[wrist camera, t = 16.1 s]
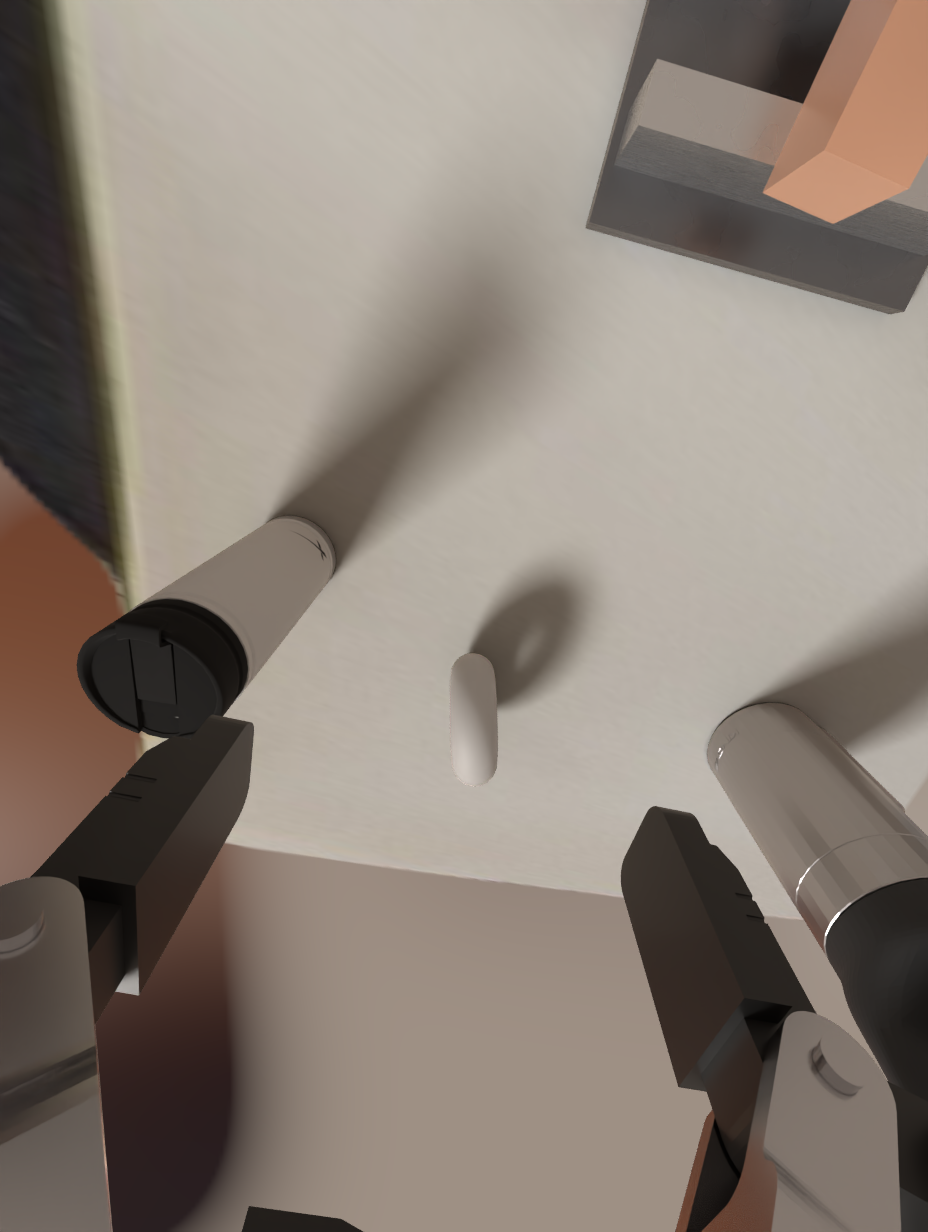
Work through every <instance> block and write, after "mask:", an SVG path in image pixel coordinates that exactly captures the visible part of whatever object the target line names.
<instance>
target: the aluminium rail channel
mask: <svg viewBox="0 0 928 1232" xmlns="http://www.w3.org/2000/svg"><path fill="white" fill-rule="evenodd" d="M850 1H851V0H647V2H646V6H645V9H644V13H643V17H642V21H641V24H640V28H639V32H638V35H637V39H636V43H635V46H634V50H633V54H632V58H631V61H630V65H629V69H628V72H627V76H626V80H625V83H624V87H623V91H622V94H621V98H620V102H619V106H618V109H617V113H616V117H615V120H614V124H613V128H612V131H611V135H610V139H609V143H608V146H607V150H606V154H605V157H604V161H603V165H602V168H601V172H600V176H599V179H598V183H597V187H596V191H595V194H594V198H593V202H592V205H591V209H590V213H589V216H588V220H587V224H586V228H587V229H591V230H594V231H598V232H601V233H605V234H608V235H612V236H616V237H619V238H623V239H626V240H630V241H633V242H637V243H640V244H644V245H647V246H651V247H654V248H658V249H661V250H665V251H669V252H672V253H676V254H679V255H683V256H686V257H690V258H693V259H697V260H700V261H704V262H707V263H711V264H714V265H718V266H721V267H725V268H729V269H732V270H736V271H739V272H743V273H746V274H750V275H753V276H757V277H760V278H764V279H767V280H771V281H774V282H778V283H782V284H785V285H789V286H792V287H796V288H799V289H803V290H806V291H810V292H813V293H817V294H820V295H824V296H827V297H831V298H834V299H838V300H842V301H845V302H849V303H852V304H856V305H859V306H863V307H866V308H870V309H873V310H877V311H880V312H884V313H887V314H894V313H899V312H904V311H905V309H906V307H907V305H908V303H909V301H910V299H911V297H912V295H913V293H914V291H915V289H916V287H917V285H918V283H919V281H920V279H921V277H922V275H923V273H924V271H925V269H926V267H927V265H928V155H927V157H926V159H925V161H924V162H923V164H922V166H921V168H920V170H919V171H918V173H917V175H916V177H915V179H914V181H913V182H912V184H911V186H910V188H909V189H907V190H905V191H903V192H901V193H899V194H897V195H894V196H892V197H890V198H888V199H886V200H884V201H881V202H879V203H877V204H875V205H873V206H871V207H869V208H866V209H864V210H862V211H860V212H858V213H856V214H854V215H851V216H849V217H847V218H845V219H843V220H841V221H838V222H836V223H834V224H832V223H830V222H827V221H825V220H823V219H820V218H818V217H816V216H814V215H811V214H809V213H807V212H805V211H802V210H800V209H798V208H796V207H793V206H791V205H789V204H786V203H784V202H782V201H780V200H777V199H775V198H773V197H771V196H768V195H766V194H764V193H762V192H763V190H764V188H765V186H766V184H767V182H768V179H769V177H770V175H771V173H772V171H773V169H774V166H775V164H776V162H777V160H778V158H779V156H780V153H781V151H782V149H783V147H784V145H785V142H786V140H787V138H788V136H789V134H790V132H791V129H792V127H793V125H794V123H795V121H796V119H797V116H798V114H799V112H800V110H801V108H802V106H803V103H804V101H805V99H806V97H807V95H808V93H809V90H810V88H811V86H812V84H813V82H814V79H815V77H816V75H817V73H818V71H819V69H820V66H821V64H822V62H823V60H824V58H825V56H826V53H827V51H828V49H829V47H830V45H831V43H832V40H833V38H834V36H835V34H836V32H837V29H838V27H839V25H840V23H841V21H842V19H843V16H844V14H845V12H846V10H847V8H848V6H849V3H850Z"/></svg>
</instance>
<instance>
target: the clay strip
mask: <svg viewBox="0 0 928 1232" xmlns="http://www.w3.org/2000/svg"><path fill="white" fill-rule="evenodd" d="M927 155H928V0H851V1H850V3H849V6H848V8H847V10H846V12H845V14H844V16H843V19H842V21H841V23H840V25H839V27H838V29H837V32H836V34H835V36H834V38H833V40H832V43H831V45H830V47H829V49H828V51H827V53H826V56H825V58H824V60H823V62H822V64H821V66H820V69H819V71H818V73H817V75H816V77H815V79H814V82H813V84H812V86H811V88H810V90H809V93H808V95H807V97H806V99H805V101H804V103H803V106H802V108H801V110H800V112H799V114H798V116H797V119H796V121H795V123H794V125H793V127H792V129H791V132H790V134H789V136H788V138H787V140H786V142H785V145H784V147H783V149H782V151H781V153H780V156H779V158H778V160H777V162H776V164H775V166H774V169H773V171H772V173H771V175H770V177H769V179H768V182H767V184H766V186H765V188H764V190H763V192H762V193H764V194H766V195H768V196H771V197H773V198H775V199H777V200H780V201H782V202H784V203H786V204H789V205H791V206H793V207H796V208H798V209H800V210H802V211H805V212H807V213H809V214H811V215H814V216H816V217H818V218H820V219H823V220H825V221H827V222H830V223H832V224H834V223H836V222H838V221H841V220H843V219H845V218H847V217H849V216H851V215H854V214H856V213H858V212H860V211H862V210H864V209H866V208H869V207H871V206H873V205H875V204H877V203H879V202H881V201H884V200H886V199H888V198H890V197H892V196H894V195H897V194H899V193H901V192H903V191H905V190H907V189H909V188H910V186H911V184H912V182H913V181H914V179H915V177H916V175H917V173H918V171H919V170H920V168H921V166H922V164H923V162H924V161H925V159H926V157H927Z"/></svg>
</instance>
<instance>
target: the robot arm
mask: <svg viewBox="0 0 928 1232" xmlns="http://www.w3.org/2000/svg"><path fill="white" fill-rule="evenodd" d="M253 736H254V726H253V723H251V722H247V721H242V720H237V719H232V718H227V717H222V716H217V715H211V716H209V717H208V718H207V719H206V720H205V722H204V723H203V724H202V725H201V727H200V728H199V729H198V730H197V731H196V733H195V734H194V735H193V736H192V738H191V739H188V738H183V737H178V736H173V737H171V738H169V739H167V740H166V741H164V742H162V743H160V744H159V745H157V746H155V747H153V748H151V749H150V750H148V751H146V752H145V753H144V754H143V755H142V757H141V758H140V759H139V760H138V761H137V762H136V763H135V764H134V765H133V766H132V767H131V769H130V770H129V771H128V772H127V773H126V776H125V778H121V780H120V781H119V782H118V783H117V784H116V785H115V786H114V787H113V788H112V789H111V790H110V793H109V795H108V796H105V797H104V798H103V799H102V800H101V801H100V803H99V804H98V805H97V806H96V807H95V808H94V809H93V810H92V811H91V812H90V813H89V815H88V816H87V817H86V818H85V819H84V820H83V821H82V822H81V823H80V824H79V825H78V827H77V828H76V829H75V830H74V831H73V832H72V833H71V834H70V835H69V836H68V837H67V838H66V840H65V841H64V842H63V843H62V844H61V845H60V846H59V847H58V848H57V849H56V851H55V852H54V853H53V854H52V855H51V856H50V857H49V858H48V859H47V860H46V861H45V863H44V864H43V865H42V866H41V867H40V868H39V869H38V870H37V871H36V872H35V873H34V874H33V875H32V876H31V877H30V878H25V879H21V880H17V881H14V882H11V883H8V884H5V885H2V886H0V1232H112V1222H111V1210H110V1199H109V1187H108V1175H107V1163H106V1152H105V1139H104V1127H103V1115H102V1103H101V1090H100V1079H99V1067H98V1054H97V1042H96V1030H95V1024H96V1022H97V1021H98V1019H99V1017H100V1016H101V1014H102V1012H103V1011H104V1009H105V1008H106V1006H107V1004H108V1002H109V1001H110V999H111V997H112V996H113V994H114V993H115V991H116V992H122V993H128V994H134V995H140V992H141V991H142V989H143V987H144V986H145V984H146V982H147V980H148V978H149V977H150V975H151V973H152V971H153V969H154V968H155V966H156V964H157V962H158V961H159V959H160V957H161V955H162V954H163V952H164V950H165V948H166V946H167V945H168V943H169V941H170V939H171V937H172V935H173V934H174V932H175V930H176V928H177V927H178V925H179V923H180V921H181V919H182V918H183V916H184V914H185V912H186V911H187V909H188V907H189V905H190V903H191V901H192V900H193V898H194V896H195V894H196V893H197V891H198V889H199V887H200V885H201V884H202V881H203V880H204V878H205V876H206V875H207V873H208V871H209V869H210V867H211V866H212V864H213V862H214V860H215V859H216V857H217V855H218V853H219V851H220V850H221V848H222V846H223V844H224V842H225V841H226V839H227V837H228V835H229V834H230V832H231V830H232V828H233V826H234V825H235V823H236V821H237V819H238V817H239V815H240V813H241V811H242V809H243V806H244V803H245V800H246V797H247V793H248V789H249V783H250V772H251V760H252V748H253ZM707 757H708V763H709V765H710V768H711V770H712V771H713V773H714V775H715V776H716V778H717V780H718V781H719V783H720V785H721V786H722V788H723V789H724V791H725V793H726V794H727V796H728V798H729V799H730V801H731V803H732V804H733V806H734V808H735V809H736V811H737V813H738V814H739V816H740V817H741V819H742V821H743V822H744V824H745V825H746V827H747V829H748V830H749V832H750V834H751V835H752V837H753V838H754V840H755V842H756V843H757V845H758V847H759V848H760V850H761V851H762V853H763V855H764V856H765V858H766V859H767V861H768V863H769V864H770V866H771V868H772V869H773V871H774V872H775V874H776V876H777V877H778V879H779V881H780V882H781V884H782V885H783V887H784V889H785V890H786V892H787V894H788V895H789V897H790V898H791V900H792V902H793V903H794V905H795V906H796V908H797V910H798V911H799V913H800V914H801V916H802V918H803V919H804V921H805V922H806V924H807V926H808V927H809V929H810V930H811V932H812V934H813V935H814V937H815V939H816V940H817V942H818V944H819V945H820V947H821V948H822V950H823V952H824V953H825V955H826V956H827V958H828V960H829V962H830V964H831V965H832V967H833V968H834V970H835V972H836V973H837V975H838V977H839V979H840V980H841V983H842V986H843V990H844V994H845V998H846V1001H847V1004H848V1006H849V1009H850V1011H851V1013H852V1016H853V1018H854V1020H855V1022H856V1024H857V1026H858V1027H859V1029H860V1031H861V1033H862V1035H863V1036H864V1038H865V1040H866V1042H867V1044H868V1045H869V1047H870V1049H871V1051H872V1052H873V1054H874V1055H875V1058H876V1059H877V1061H878V1063H879V1065H880V1067H881V1069H882V1070H883V1072H884V1074H885V1076H886V1078H887V1079H888V1081H889V1082H888V1081H887V1080H886V1079H885V1077H884V1075H883V1073H882V1072H881V1070H880V1069H879V1067H878V1066H877V1064H876V1063H875V1061H874V1060H873V1059H872V1058H871V1056H870V1055H869V1054H868V1053H867V1051H866V1050H865V1049H864V1048H863V1047H862V1046H861V1045H860V1044H859V1043H858V1042H857V1041H856V1040H855V1039H854V1038H853V1037H852V1036H851V1035H849V1034H848V1033H847V1032H846V1031H845V1030H843V1029H842V1028H841V1027H839V1026H838V1025H836V1024H835V1023H833V1022H832V1021H830V1020H828V1019H826V1018H825V1017H823V1016H820V1015H818V1014H816V1012H815V1010H814V1009H813V1007H812V1005H811V1003H810V1001H809V999H808V998H807V996H806V994H805V992H804V990H803V988H802V986H801V985H800V983H799V981H798V979H797V977H796V975H795V973H794V972H793V970H792V968H791V966H790V964H789V962H788V961H787V959H786V957H785V955H784V953H783V952H782V950H781V948H780V946H779V944H778V942H777V941H776V938H775V937H774V935H773V933H772V931H771V929H770V927H769V926H768V924H766V923H764V916H763V914H762V913H761V911H760V909H759V907H758V905H757V903H756V902H755V901H753V900H752V894H751V892H750V890H749V889H748V887H747V885H746V883H745V881H744V879H743V878H742V876H741V874H740V872H739V870H738V869H737V868H736V867H735V866H734V865H733V863H732V862H731V861H730V860H729V859H728V858H727V857H726V856H725V855H724V854H723V852H722V851H721V850H720V849H719V848H718V847H717V846H716V845H711V844H710V843H709V842H708V840H707V838H706V836H705V834H704V832H703V830H702V828H701V826H700V824H699V822H698V820H697V819H696V817H695V816H694V815H693V814H691V813H687V812H682V811H677V810H672V809H667V808H662V807H657V806H653V807H651V808H650V809H649V810H648V812H647V813H646V815H645V817H644V819H643V821H642V823H641V825H640V827H639V829H638V831H637V834H636V836H635V838H634V840H633V842H632V844H631V846H630V848H629V850H628V852H627V854H626V856H625V858H624V861H623V864H622V870H621V887H622V892H623V896H624V899H625V903H626V906H627V910H628V913H629V917H630V920H631V923H632V927H633V931H634V934H635V938H636V941H637V945H638V948H639V951H640V955H641V958H642V962H643V965H644V969H645V972H646V976H647V979H648V983H649V986H650V989H651V993H652V997H653V1000H654V1003H655V1007H656V1010H657V1014H658V1017H659V1021H660V1024H661V1028H662V1031H663V1035H664V1038H665V1042H666V1045H667V1048H668V1052H669V1056H670V1059H671V1062H672V1066H673V1070H674V1073H675V1077H676V1080H677V1083H678V1087H681V1088H688V1089H694V1090H700V1091H706V1092H707V1094H708V1097H709V1100H710V1103H711V1106H712V1110H711V1112H710V1113H709V1114H708V1116H707V1117H706V1120H705V1122H704V1126H703V1129H702V1133H701V1137H700V1141H699V1144H698V1148H697V1152H696V1156H695V1160H694V1163H693V1167H692V1170H691V1174H690V1178H689V1182H688V1185H687V1189H686V1193H685V1197H684V1201H683V1204H682V1208H681V1212H680V1216H679V1219H678V1223H677V1227H676V1230H675V1232H928V836H927V835H926V834H925V833H924V832H923V831H922V830H921V829H920V828H919V827H918V826H917V825H916V824H915V823H914V822H913V821H912V820H911V819H910V818H909V817H908V816H907V815H906V814H905V810H904V807H903V806H902V805H901V804H900V803H899V802H898V801H897V800H896V799H895V798H894V797H893V796H892V795H891V794H890V793H889V792H888V791H887V790H886V789H885V788H884V787H883V786H882V785H881V784H880V783H879V782H878V781H877V780H876V779H875V778H874V777H873V776H872V775H871V774H870V773H869V772H868V771H867V770H866V769H865V768H864V767H863V766H861V765H860V764H859V763H858V762H857V761H856V760H855V759H854V758H853V757H852V756H851V755H850V754H849V753H848V752H847V751H846V750H845V749H844V748H843V747H842V746H841V745H840V744H839V743H838V742H837V741H836V740H835V739H834V738H833V737H832V736H831V735H830V734H829V733H828V732H827V731H826V730H825V729H822V728H819V727H818V726H817V725H816V724H815V723H814V722H813V721H812V720H811V719H810V718H809V717H808V716H807V715H805V714H804V713H803V712H802V711H801V710H799V709H797V708H795V707H793V706H790V705H786V704H781V703H764V704H757V705H754V706H750V707H747V708H744V709H742V710H740V711H738V712H736V713H734V714H733V715H731V716H730V717H729V718H727V719H726V720H725V721H724V722H723V723H722V724H721V725H720V726H719V727H718V728H717V729H716V731H715V732H714V734H713V735H712V737H711V739H710V742H709V744H708V751H707ZM242 1232H363V1231H361V1230H359V1229H357V1228H356V1227H354V1226H352V1225H351V1224H349V1223H347V1222H345V1221H344V1220H342V1219H338V1218H331V1217H323V1216H316V1215H308V1214H302V1213H295V1212H287V1211H280V1210H273V1209H266V1208H259V1207H251V1206H249V1208H248V1211H247V1215H246V1219H245V1222H244V1226H243V1229H242Z"/></svg>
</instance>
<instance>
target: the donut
mask: <svg viewBox="0 0 928 1232" xmlns="http://www.w3.org/2000/svg"><path fill="white" fill-rule="evenodd" d="M450 748H451V762H452V768H453V771H454V773H455V775H456V777H457V778H458V779H459V780H460V781H461V782H462V783H464V784H466V785H468V786H474V787H476V786H481V785H483V784H485V783H487V782H488V781H489V780H490V779H491V778H492V777H493V775H494V773H495V771H496V768H497V757H498V724H497V696H496V680H495V673H494V668H493V666H492V664H491V662H490V661H489V660H488V659H487V658H486V657H484V656H482V655H480V654H476V653H469V654H465V655H463V656H461V657H460V658H459V659H458V660H457V661H456V662H455V663H454V665H453V667H452V670H451V678H450Z"/></svg>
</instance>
